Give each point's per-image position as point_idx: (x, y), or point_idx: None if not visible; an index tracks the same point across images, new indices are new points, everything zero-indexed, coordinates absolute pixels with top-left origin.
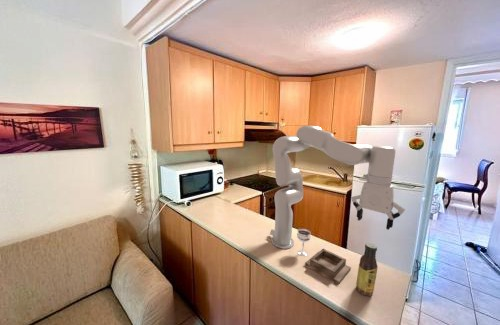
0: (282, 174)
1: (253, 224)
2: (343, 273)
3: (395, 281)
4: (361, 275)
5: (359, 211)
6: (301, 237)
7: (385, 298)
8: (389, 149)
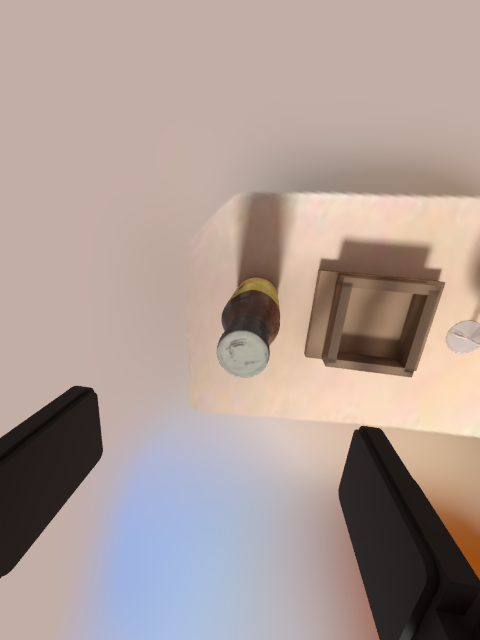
0: None
1: None
2: (317, 315)
3: (204, 380)
4: (265, 287)
5: (451, 571)
6: None
7: (211, 304)
8: None
